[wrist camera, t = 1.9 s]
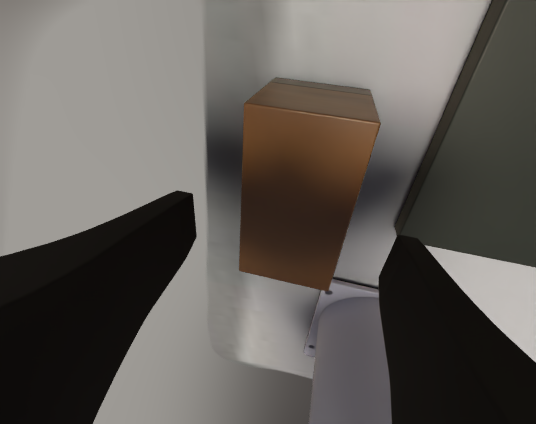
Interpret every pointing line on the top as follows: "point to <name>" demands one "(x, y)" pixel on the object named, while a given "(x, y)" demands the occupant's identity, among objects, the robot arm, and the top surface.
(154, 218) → the robot arm
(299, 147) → the brown rectangular block
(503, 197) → the slate board
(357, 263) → the top surface
